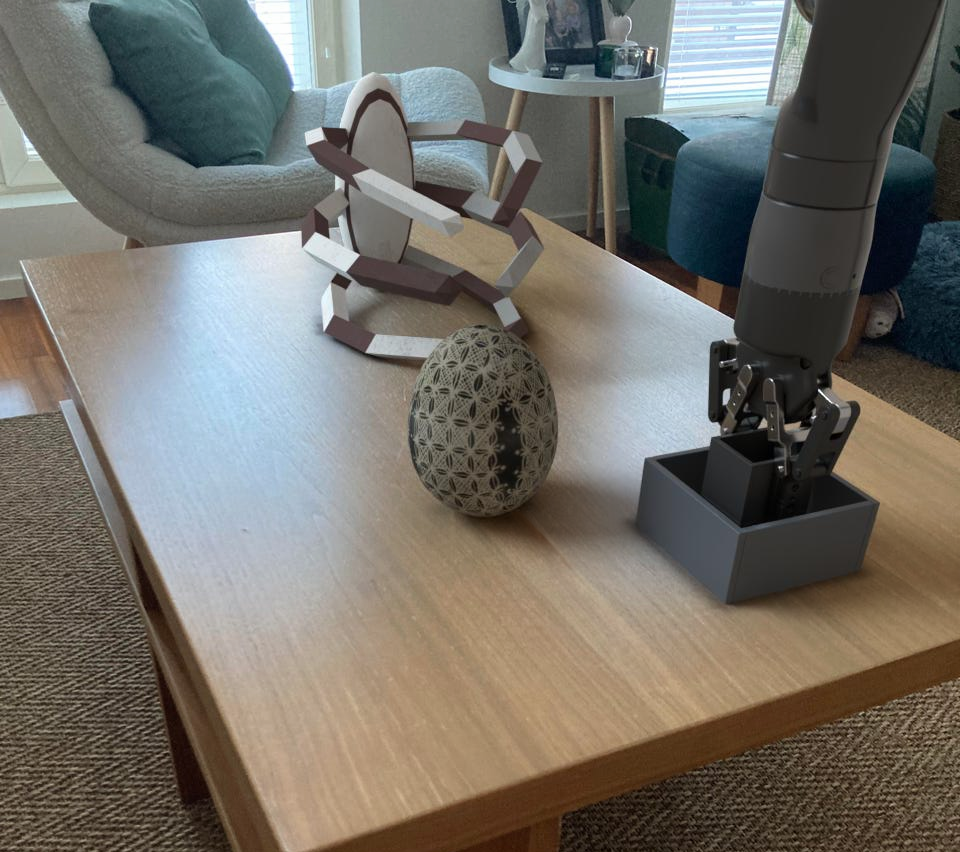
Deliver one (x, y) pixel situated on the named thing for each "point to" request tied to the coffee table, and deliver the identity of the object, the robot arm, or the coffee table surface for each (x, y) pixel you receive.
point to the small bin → (744, 476)
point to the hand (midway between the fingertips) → (753, 500)
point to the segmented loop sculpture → (408, 216)
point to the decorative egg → (482, 422)
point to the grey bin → (752, 531)
